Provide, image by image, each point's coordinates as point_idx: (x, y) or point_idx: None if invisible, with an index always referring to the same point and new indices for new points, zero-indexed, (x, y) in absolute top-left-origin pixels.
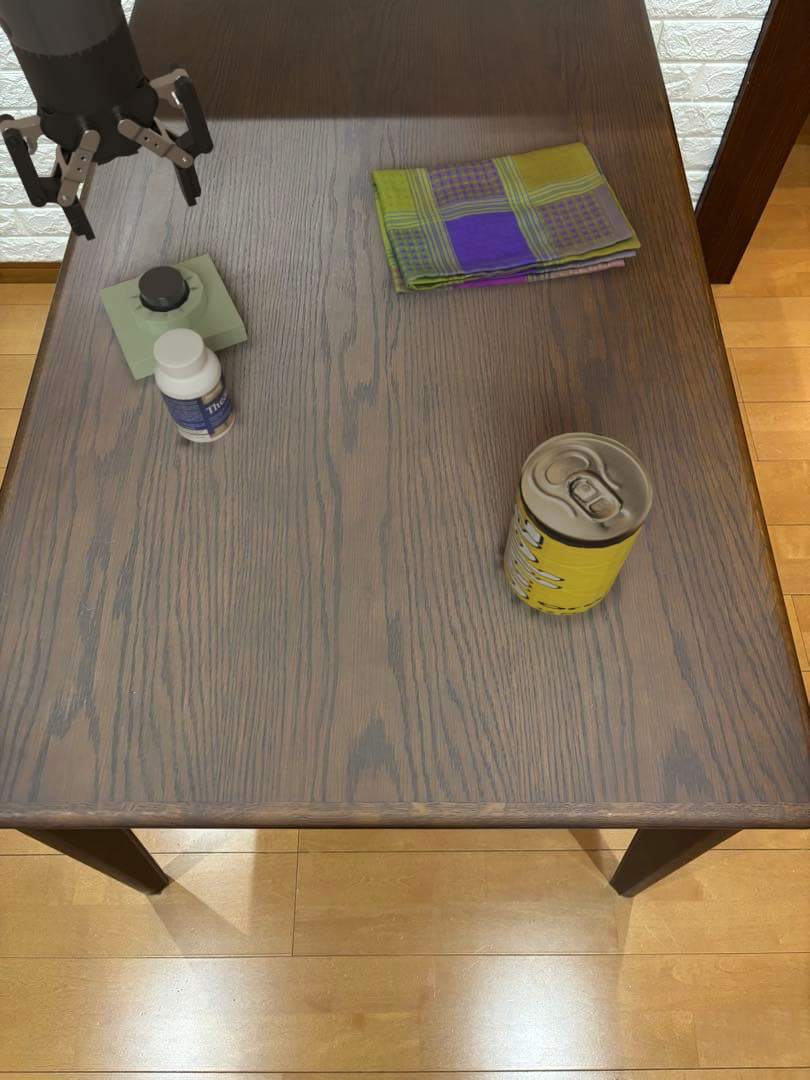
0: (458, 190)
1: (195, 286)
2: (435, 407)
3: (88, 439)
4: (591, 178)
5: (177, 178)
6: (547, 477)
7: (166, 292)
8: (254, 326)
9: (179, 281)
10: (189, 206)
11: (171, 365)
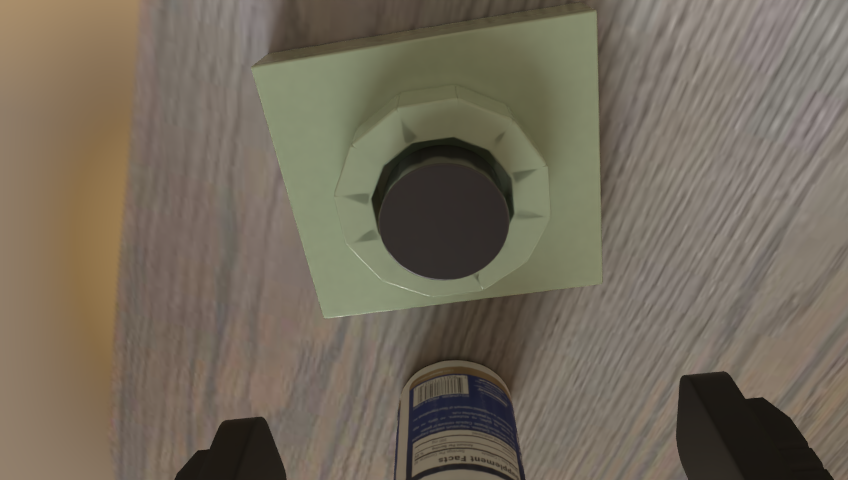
0: None
1: (530, 209)
2: (841, 470)
3: (236, 381)
4: None
5: (714, 426)
6: None
7: (453, 265)
8: (616, 223)
9: (497, 238)
10: (681, 457)
11: None
